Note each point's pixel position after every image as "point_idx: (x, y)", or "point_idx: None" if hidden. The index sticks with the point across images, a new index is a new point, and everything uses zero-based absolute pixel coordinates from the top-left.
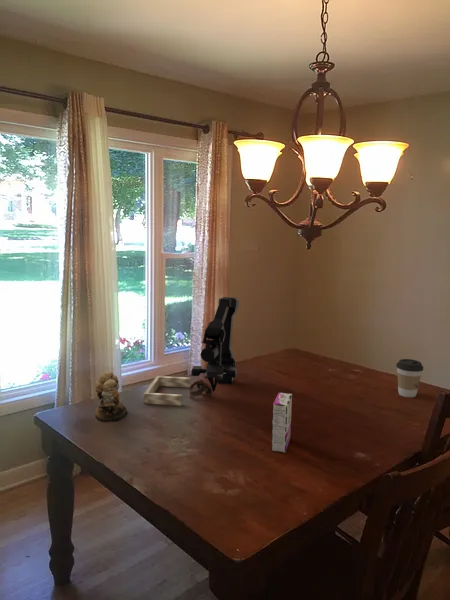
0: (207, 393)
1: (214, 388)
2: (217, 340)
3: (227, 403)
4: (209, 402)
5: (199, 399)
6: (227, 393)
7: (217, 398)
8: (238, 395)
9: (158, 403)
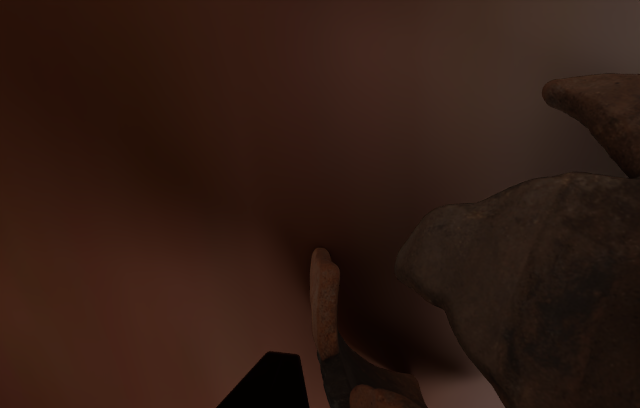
0: (396, 378)
1: (248, 398)
2: None
3: (42, 41)
4: (357, 55)
5: None
6: (151, 393)
7: (241, 244)
8: (15, 340)
9: None
